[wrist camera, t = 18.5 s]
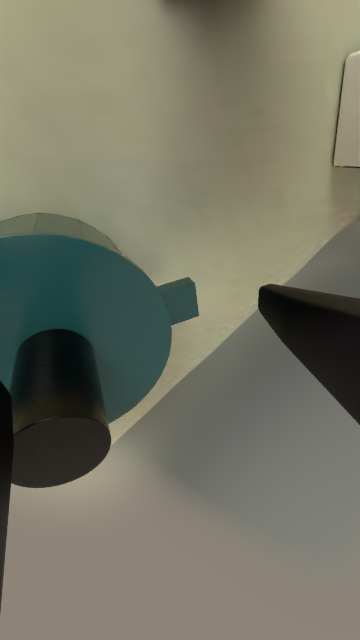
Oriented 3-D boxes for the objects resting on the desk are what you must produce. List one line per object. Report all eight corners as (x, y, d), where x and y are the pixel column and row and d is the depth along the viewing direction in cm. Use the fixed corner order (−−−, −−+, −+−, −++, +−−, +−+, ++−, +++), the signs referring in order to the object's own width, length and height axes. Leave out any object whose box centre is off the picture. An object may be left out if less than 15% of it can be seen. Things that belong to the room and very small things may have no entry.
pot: (-143, 250, 15) (-271, 314, 9) (148, 187, 19) (191, 203, 13) (-25, 389, 21) (-55, 479, 15) (173, 321, 25) (209, 372, 19)
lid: (-191, 273, 10) (-481, 416, 4) (141, 198, 13) (203, 231, 7) (-7, 457, 17) (-35, 596, 11) (179, 382, 20) (224, 466, 14)
